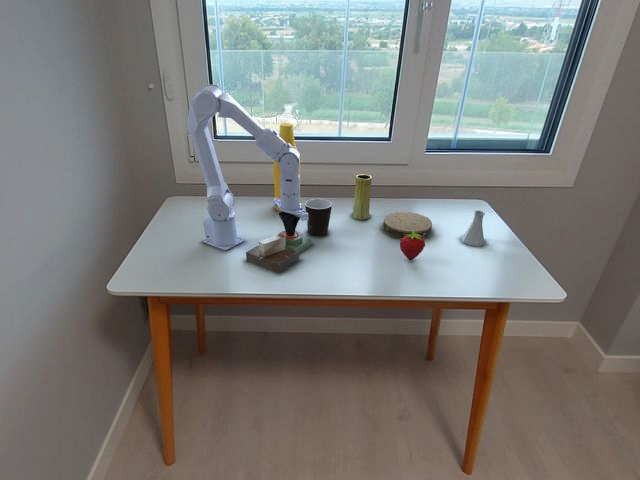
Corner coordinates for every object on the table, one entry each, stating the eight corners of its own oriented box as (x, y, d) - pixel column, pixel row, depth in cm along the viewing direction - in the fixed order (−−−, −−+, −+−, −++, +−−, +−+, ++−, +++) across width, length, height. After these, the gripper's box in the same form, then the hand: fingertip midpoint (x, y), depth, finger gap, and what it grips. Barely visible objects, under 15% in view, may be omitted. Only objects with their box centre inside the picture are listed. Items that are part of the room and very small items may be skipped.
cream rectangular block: (264, 257, 126) (263, 243, 124) (259, 253, 128) (258, 240, 125) (285, 249, 130) (285, 236, 128) (280, 246, 132) (280, 233, 129)
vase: (372, 215, 160) (376, 176, 152) (364, 221, 156) (367, 181, 148) (357, 211, 163) (360, 172, 155) (348, 217, 158) (351, 177, 150)
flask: (485, 239, 147) (493, 210, 141) (482, 248, 141) (490, 218, 135) (463, 234, 149) (469, 206, 143) (459, 243, 144) (465, 214, 138)
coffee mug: (328, 239, 143) (329, 210, 137) (301, 236, 144) (302, 207, 139) (334, 225, 152) (335, 196, 147) (309, 222, 154) (310, 194, 148)
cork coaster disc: (373, 227, 152) (374, 219, 150) (404, 216, 160) (405, 208, 159) (409, 244, 142) (411, 236, 140) (440, 231, 151) (442, 223, 149)
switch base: (243, 262, 129) (243, 252, 128) (269, 247, 138) (269, 238, 136) (276, 275, 124) (275, 265, 122) (301, 259, 132) (301, 249, 130)
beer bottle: (292, 214, 159) (292, 129, 142) (270, 209, 162) (266, 125, 145) (304, 206, 166) (305, 123, 149) (282, 201, 169) (281, 120, 152)
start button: (280, 240, 138) (280, 235, 137) (289, 235, 141) (289, 230, 140) (291, 244, 136) (291, 239, 135) (300, 239, 139) (300, 233, 138)
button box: (269, 245, 139) (269, 235, 137) (285, 236, 144) (285, 226, 142) (295, 254, 134) (295, 244, 132) (311, 245, 140) (311, 234, 138)
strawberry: (394, 255, 135) (399, 225, 130) (418, 254, 136) (424, 224, 131) (400, 265, 131) (405, 234, 125) (425, 264, 132) (430, 233, 126)
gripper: (316, 196, 127) (315, 239, 135) (285, 182, 136) (286, 223, 144) (297, 201, 123) (297, 246, 131) (266, 186, 132) (268, 229, 140)
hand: (290, 234), depth 137 cm, fingers closed, pressing on start button
